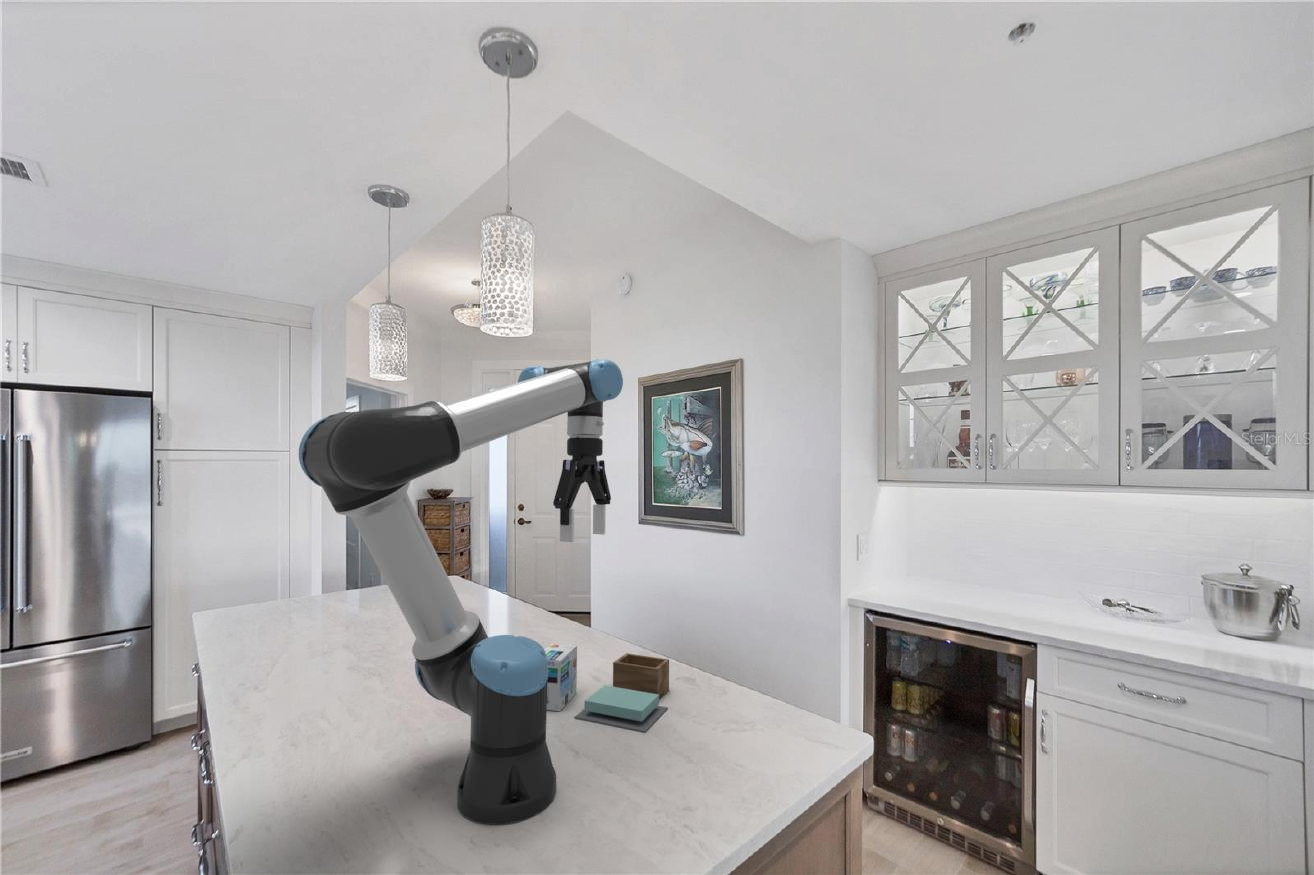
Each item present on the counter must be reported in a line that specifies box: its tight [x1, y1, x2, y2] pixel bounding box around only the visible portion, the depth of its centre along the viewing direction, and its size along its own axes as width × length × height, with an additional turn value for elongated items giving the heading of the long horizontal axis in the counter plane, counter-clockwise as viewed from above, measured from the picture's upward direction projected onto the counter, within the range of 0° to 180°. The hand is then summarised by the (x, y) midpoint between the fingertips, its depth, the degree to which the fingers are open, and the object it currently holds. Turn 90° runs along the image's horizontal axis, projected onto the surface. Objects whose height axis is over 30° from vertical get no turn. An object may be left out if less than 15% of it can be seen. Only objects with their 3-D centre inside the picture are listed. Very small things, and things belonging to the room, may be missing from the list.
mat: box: [573, 705, 669, 734], centre depth 121 cm, size 12×16×1 cm
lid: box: [583, 685, 660, 722], centre depth 121 cm, size 9×13×3 cm
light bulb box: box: [544, 643, 578, 712], centre depth 127 cm, size 11×7×11 cm, turn 168°
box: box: [612, 653, 670, 701], centre depth 132 cm, size 7×11×7 cm, turn 67°
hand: (583, 537), depth 122 cm, fingers open, 13 cm apart
